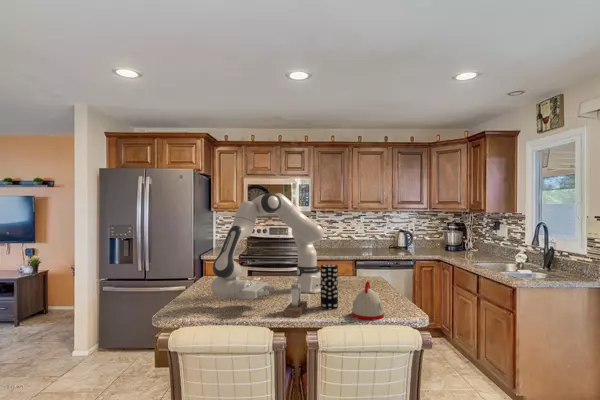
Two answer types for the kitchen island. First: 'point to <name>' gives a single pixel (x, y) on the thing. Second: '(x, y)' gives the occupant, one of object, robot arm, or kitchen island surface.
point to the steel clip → (296, 294)
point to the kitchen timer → (367, 305)
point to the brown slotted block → (295, 310)
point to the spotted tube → (329, 286)
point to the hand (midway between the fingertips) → (271, 290)
